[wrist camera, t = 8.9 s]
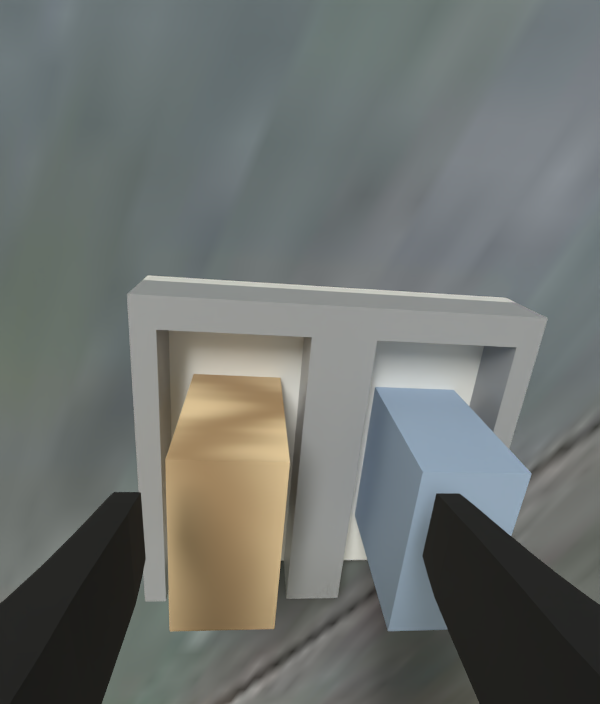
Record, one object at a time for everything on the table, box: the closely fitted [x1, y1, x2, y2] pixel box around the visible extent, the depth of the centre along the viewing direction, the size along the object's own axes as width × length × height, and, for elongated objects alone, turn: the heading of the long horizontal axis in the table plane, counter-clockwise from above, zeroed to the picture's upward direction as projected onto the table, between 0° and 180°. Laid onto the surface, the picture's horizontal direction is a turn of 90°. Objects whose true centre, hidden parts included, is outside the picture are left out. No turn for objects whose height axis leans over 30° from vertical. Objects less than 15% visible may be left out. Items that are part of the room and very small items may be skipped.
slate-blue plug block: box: [355, 387, 532, 631], centre depth 18 cm, size 4×7×6 cm, turn 175°
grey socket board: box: [127, 276, 548, 601], centre depth 19 cm, size 15×14×3 cm
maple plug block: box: [165, 374, 290, 631], centre depth 17 cm, size 4×7×6 cm, turn 175°
